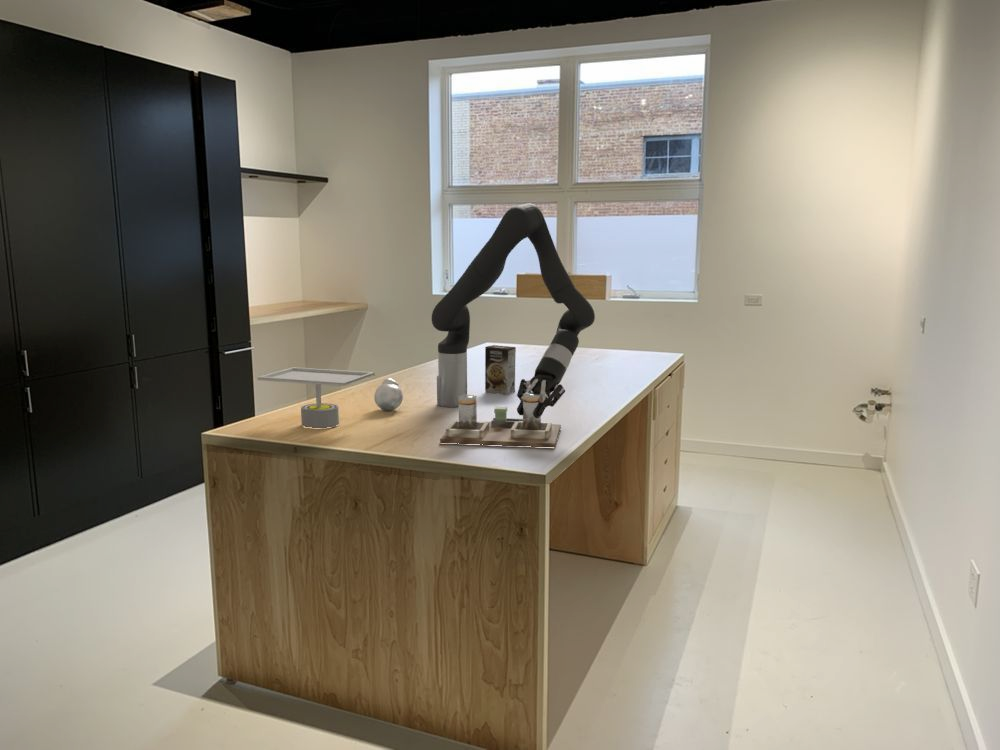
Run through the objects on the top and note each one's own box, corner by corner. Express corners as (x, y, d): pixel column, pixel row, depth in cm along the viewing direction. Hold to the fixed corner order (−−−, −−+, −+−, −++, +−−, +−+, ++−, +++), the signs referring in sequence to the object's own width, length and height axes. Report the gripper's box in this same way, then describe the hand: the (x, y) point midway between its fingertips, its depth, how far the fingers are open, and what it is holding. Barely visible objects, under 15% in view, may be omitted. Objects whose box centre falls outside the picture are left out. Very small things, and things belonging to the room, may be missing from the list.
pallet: (440, 444, 196) (439, 431, 195) (456, 425, 215) (456, 413, 214) (554, 449, 191) (554, 435, 190) (560, 429, 210) (560, 417, 210)
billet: (521, 432, 199) (521, 395, 197) (524, 427, 203) (524, 392, 201) (539, 433, 198) (540, 396, 196) (541, 428, 203) (542, 392, 201)
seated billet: (457, 434, 199) (456, 398, 197) (460, 430, 204) (460, 394, 202) (475, 435, 199) (474, 398, 197) (478, 430, 203) (478, 394, 201)
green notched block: (494, 425, 208) (494, 408, 208) (496, 422, 212) (496, 406, 211) (505, 425, 208) (505, 409, 207) (507, 423, 211) (507, 406, 210)
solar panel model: (260, 428, 212) (257, 376, 209) (295, 415, 228) (293, 366, 225) (346, 437, 203) (344, 382, 200) (376, 422, 219) (375, 372, 216)
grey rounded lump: (410, 408, 236) (409, 377, 234) (391, 414, 228) (390, 382, 226) (387, 405, 241) (386, 375, 239) (368, 411, 233) (367, 380, 231)
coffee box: (484, 392, 261) (484, 346, 258) (493, 389, 267) (493, 344, 264) (507, 395, 257) (507, 348, 254) (516, 391, 263) (516, 346, 260)
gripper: (581, 375, 203) (555, 427, 196) (538, 369, 212) (512, 419, 205) (570, 358, 198) (543, 411, 191) (527, 353, 207) (500, 403, 200)
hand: (527, 414), depth 198 cm, fingers closed on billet, 4 cm apart
